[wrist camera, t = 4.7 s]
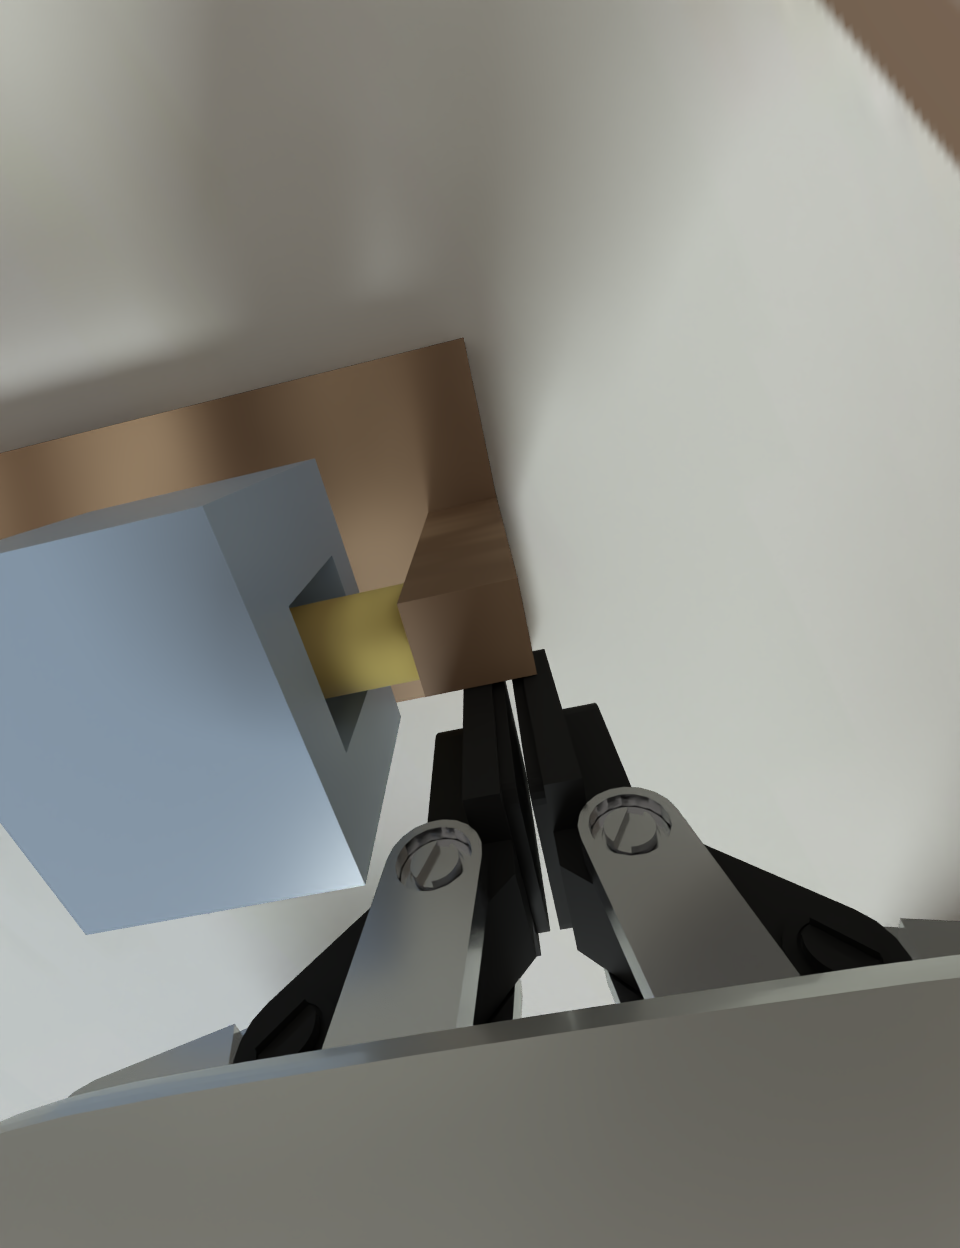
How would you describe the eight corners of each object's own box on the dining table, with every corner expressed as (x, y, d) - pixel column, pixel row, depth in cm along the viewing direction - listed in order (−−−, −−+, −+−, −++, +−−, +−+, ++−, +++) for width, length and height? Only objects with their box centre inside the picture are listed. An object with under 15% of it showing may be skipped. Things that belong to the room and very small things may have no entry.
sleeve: (314, 458, 11) (202, 506, 6) (400, 716, 13) (365, 885, 9) (88, 512, 11) (-175, 594, 7) (214, 754, 14) (85, 935, 9)
